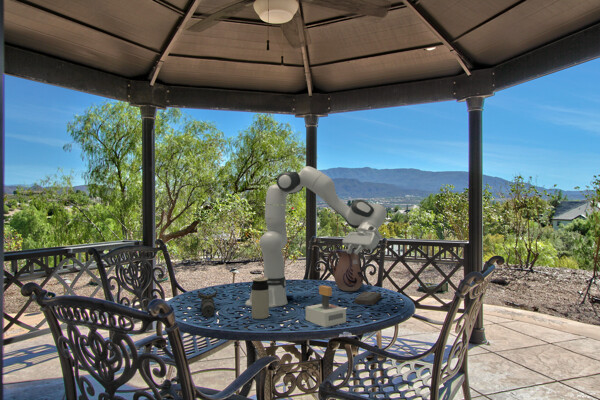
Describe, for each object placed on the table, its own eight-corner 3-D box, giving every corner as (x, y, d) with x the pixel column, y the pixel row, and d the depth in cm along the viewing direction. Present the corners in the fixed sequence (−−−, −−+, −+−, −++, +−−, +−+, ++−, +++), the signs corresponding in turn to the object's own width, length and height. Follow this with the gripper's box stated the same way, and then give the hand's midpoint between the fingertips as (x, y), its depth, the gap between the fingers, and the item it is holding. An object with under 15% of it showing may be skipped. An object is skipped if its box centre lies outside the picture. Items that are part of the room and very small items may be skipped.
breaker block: (326, 315, 187) (326, 302, 187) (346, 322, 176) (346, 308, 176) (305, 319, 180) (305, 306, 180) (325, 327, 169) (325, 312, 169)
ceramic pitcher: (365, 293, 237) (365, 251, 237) (330, 293, 236) (330, 251, 237) (360, 287, 254) (360, 248, 255) (328, 287, 254) (327, 248, 254)
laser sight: (197, 318, 185) (197, 297, 185) (197, 307, 206) (197, 287, 207) (219, 317, 187) (219, 295, 187) (216, 305, 209) (216, 286, 209)
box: (381, 298, 222) (381, 292, 222) (374, 305, 207) (373, 299, 207) (363, 296, 227) (363, 291, 227) (354, 304, 211) (354, 298, 211)
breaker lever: (323, 304, 181) (323, 285, 182) (331, 306, 176) (331, 287, 177) (319, 305, 180) (319, 285, 180) (327, 307, 175) (327, 288, 175)
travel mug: (253, 320, 181) (253, 280, 181) (250, 315, 188) (250, 277, 189) (270, 318, 183) (270, 279, 183) (266, 314, 191) (266, 276, 191)
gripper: (348, 226, 201) (333, 247, 195) (378, 228, 185) (363, 250, 179) (354, 235, 204) (340, 255, 198) (384, 237, 187) (370, 259, 181)
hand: (351, 253), depth 188 cm, fingers open, 3 cm apart
